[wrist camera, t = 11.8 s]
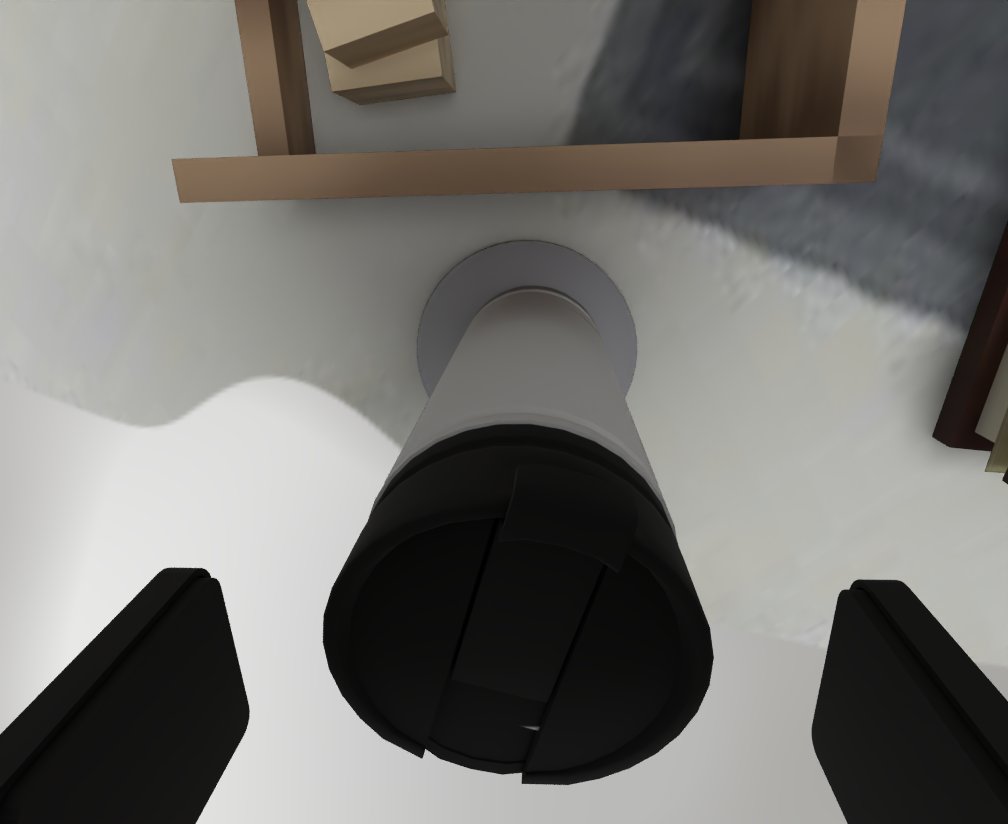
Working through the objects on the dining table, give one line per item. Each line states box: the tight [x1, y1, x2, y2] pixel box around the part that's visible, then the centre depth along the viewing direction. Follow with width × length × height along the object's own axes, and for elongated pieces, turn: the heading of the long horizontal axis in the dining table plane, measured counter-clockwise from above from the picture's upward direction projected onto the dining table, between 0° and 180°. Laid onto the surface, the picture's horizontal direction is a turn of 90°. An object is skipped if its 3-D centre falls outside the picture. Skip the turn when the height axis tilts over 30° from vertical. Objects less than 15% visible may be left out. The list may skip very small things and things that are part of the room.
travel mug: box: [323, 286, 714, 785], centre depth 18 cm, size 6×7×20 cm
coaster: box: [417, 240, 637, 398], centre depth 28 cm, size 10×10×1 cm
